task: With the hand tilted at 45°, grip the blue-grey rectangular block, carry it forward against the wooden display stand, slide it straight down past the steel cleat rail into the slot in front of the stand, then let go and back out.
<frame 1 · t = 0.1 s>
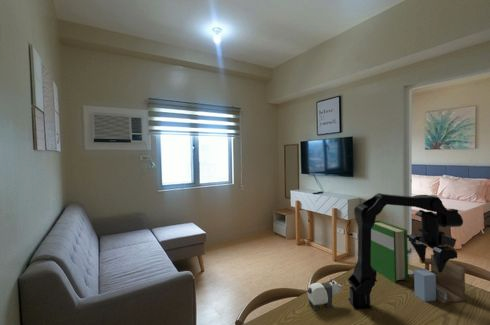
hand: (431, 266, 96), 15 cm above the table, tool pointing down, fingers open, 9 cm apart
blue-grey rectangular block: (425, 297, 101), on the table
hardback book: (386, 273, 122), on the table
giant panda: (324, 305, 98), on the table
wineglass: (406, 271, 122), on the table
wooden display stand: (443, 295, 101), on the table
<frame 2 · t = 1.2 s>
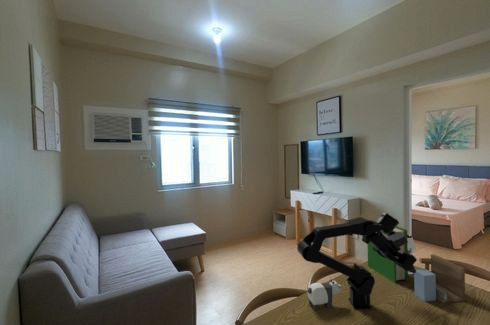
hand: (406, 267, 99), 13 cm above the table, tool tilted 45°, fingers open, 9 cm apart
nothing on the table moved.
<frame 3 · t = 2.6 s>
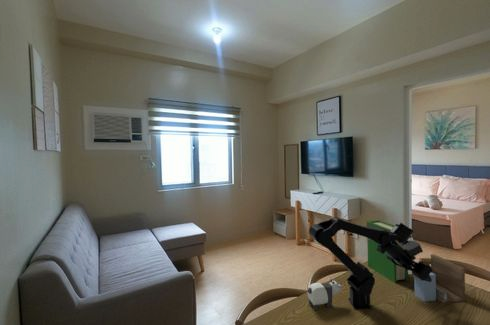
hand: (421, 275, 100), 9 cm above the table, tool tilted 45°, fingers open, 9 cm apart
nothing on the table moved.
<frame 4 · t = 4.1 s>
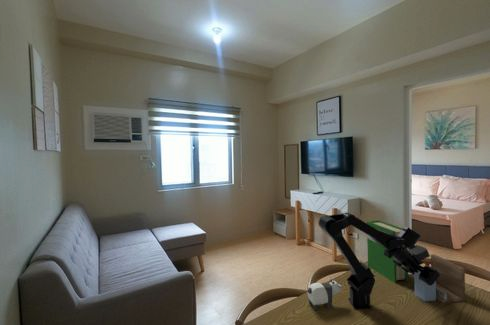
hand: (427, 279, 101), 7 cm above the table, tool tilted 45°, fingers closed on blue-grey rectangular block, 5 cm apart
blue-grey rectangular block: (425, 297, 101), on the table, touching gripper
everything else where it was.
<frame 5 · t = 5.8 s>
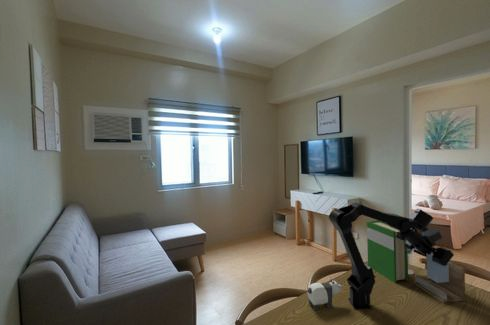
hand: (440, 261, 101), 14 cm above the table, tool tilted 45°, fingers closed on blue-grey rectangular block, 5 cm apart
blue-grey rectangular block: (437, 279, 101), point 7 cm above the table, touching gripper
everything else where it was.
when the fingers open (9 cm above the table, at t = 7.5 s): blue-grey rectangular block stays where it is, resting on wooden display stand.
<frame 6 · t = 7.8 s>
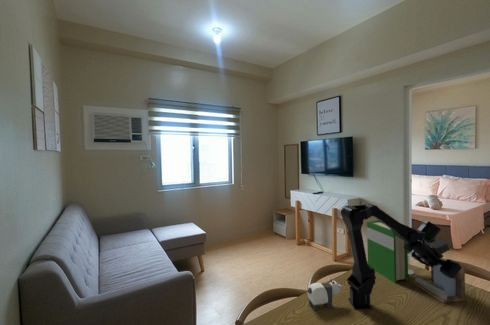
hand: (447, 273, 101), 9 cm above the table, tool tilted 45°, fingers open, 8 cm apart
blue-grey rectangular block: (444, 292, 101), point 1 cm above the table, touching wooden display stand
everything else where it was.
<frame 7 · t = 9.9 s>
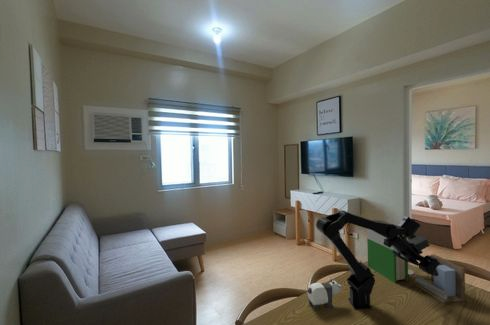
hand: (427, 269, 100), 11 cm above the table, tool tilted 45°, fingers open, 9 cm apart
nothing on the table moved.
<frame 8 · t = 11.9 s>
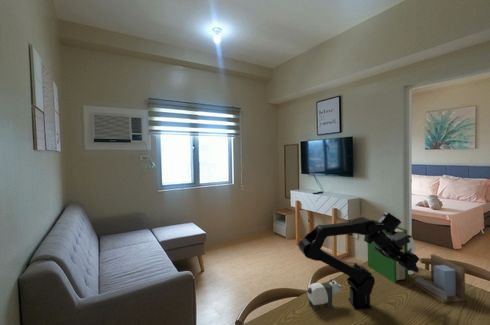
hand: (408, 266, 100), 14 cm above the table, tool tilted 45°, fingers open, 9 cm apart
nothing on the table moved.
at the end: blue-grey rectangular block inside the target area on the wooden display stand (1.0 cm from its centre), point 1.0 cm above the wooden display stand's base; blue-grey rectangular block tilted 0°; the gripper is holding nothing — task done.
